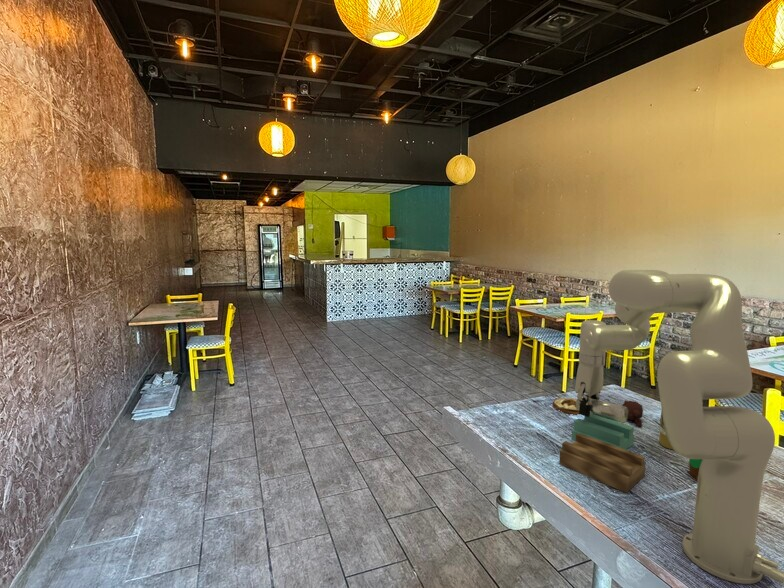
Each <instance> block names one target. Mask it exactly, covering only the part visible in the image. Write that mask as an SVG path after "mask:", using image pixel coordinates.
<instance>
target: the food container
mask: <svg viewBox="0 0 784 588" xmlns="http://www.w3.org/2000/svg"><path fill="white" fill-rule="evenodd" d="M688 459H689V458H688ZM702 460H703V459H689V462H688V463H689V465H688V466H689V467H688V470H689V472H688V473H689V476H690V477H691V478H692V479H693V480H695V481H697V482H698V474H699V468H700V465H701V462H702Z"/></svg>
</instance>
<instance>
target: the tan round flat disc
mask: <svg viewBox="0 0 784 588" xmlns="http://www.w3.org/2000/svg"><path fill="white" fill-rule="evenodd" d="M576 401H577V398H570V397H569V398H567V397H566V398H565V397H558V398H555V399H554V400H553V402H552V407H554V408H556V409H557V410H556V409H555V410H556V411H558V410H560V411H562V412H564V413H563V414H567V413H568V414H567V415H570V414H573V415H572V416H578V415H577V414H579V410H577V409H576ZM554 408H553V409H554ZM560 411H559V412H560ZM579 415H580V414H579Z"/></svg>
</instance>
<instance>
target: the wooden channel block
mask: <svg viewBox="0 0 784 588" xmlns="http://www.w3.org/2000/svg"><path fill="white" fill-rule="evenodd" d="M561 444H562V445H561V449H560V450H559V462H558V463H559V465H561V466H563V467H566V468H568V469H570V470H573V471H575V472H577V473H580V474H581V475H583V476H587V477H589V478H590V479H594V480H596V481H597V482H600V483H602V484H605V485H607V486H609V487H611V488H614V489H616V490H618V491H621V492H624V493H625V494H627V493H629V491H631V489H633V488H634V487H635V486H636V485H637V484H638V483H639V482H640V481H641V480H642V479H643V478H644V477H646V476H645V475H646V464H647V463H646V461H645V459H646V457H645V456H644V455H641V454H639V453H635V452H633V451H631V450H628V449H627V450H625V449H622V448H619V447H617V446H614V445H611V444H608V443H605V442H603V441H600V440H597V439H594V438H592V437H589V436H586V435H583V434H580V433H578V434H576V441H572V443H571V442H570V441H566V440H565V441H563V442H562V443H561Z"/></svg>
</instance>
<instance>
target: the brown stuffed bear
mask: <svg viewBox="0 0 784 588" xmlns="http://www.w3.org/2000/svg"><path fill="white" fill-rule="evenodd" d="M621 406H624V407H627V408H628V418H627V420H630V421H632V422H633V421H635V423H636V426H638V427H642V426H643V422H642V421H641V418H643V414H644V409H643V405H642V404H640V403H639V402H638V401H635V400H634V401H633V400H624V401H623V404H622V405H621Z"/></svg>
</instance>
